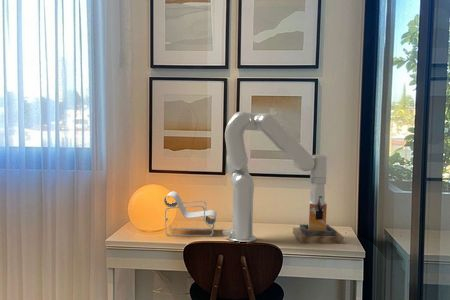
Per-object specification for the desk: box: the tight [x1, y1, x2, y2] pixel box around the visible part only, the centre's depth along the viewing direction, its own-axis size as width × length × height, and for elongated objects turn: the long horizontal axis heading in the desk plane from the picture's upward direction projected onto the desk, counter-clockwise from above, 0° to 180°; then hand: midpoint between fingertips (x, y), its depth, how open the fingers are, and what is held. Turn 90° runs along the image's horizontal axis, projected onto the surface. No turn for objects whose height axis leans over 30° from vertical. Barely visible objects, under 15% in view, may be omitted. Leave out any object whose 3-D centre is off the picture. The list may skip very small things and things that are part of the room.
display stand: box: [292, 224, 345, 244], centre depth 211 cm, size 20×18×5 cm
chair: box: [163, 190, 217, 237], centre depth 219 cm, size 13×25×20 cm, turn 89°
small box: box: [307, 200, 328, 231], centre depth 210 cm, size 8×6×13 cm
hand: (317, 217), depth 210 cm, fingers closed on small box, 7 cm apart
